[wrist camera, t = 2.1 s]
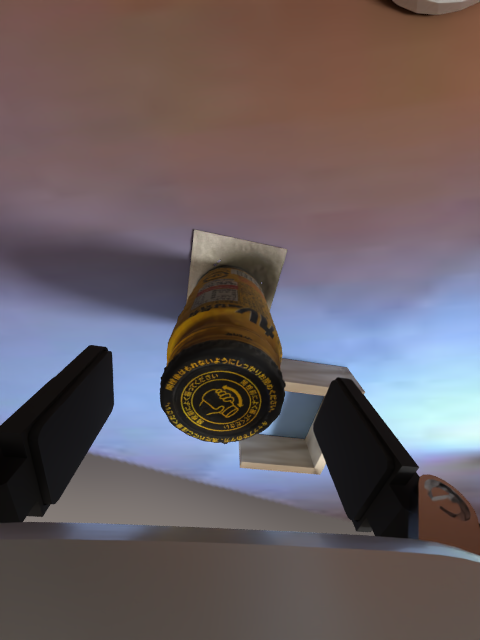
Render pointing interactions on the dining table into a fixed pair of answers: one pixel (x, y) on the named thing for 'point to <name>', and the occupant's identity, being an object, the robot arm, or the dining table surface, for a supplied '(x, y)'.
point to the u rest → (287, 450)
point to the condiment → (226, 343)
